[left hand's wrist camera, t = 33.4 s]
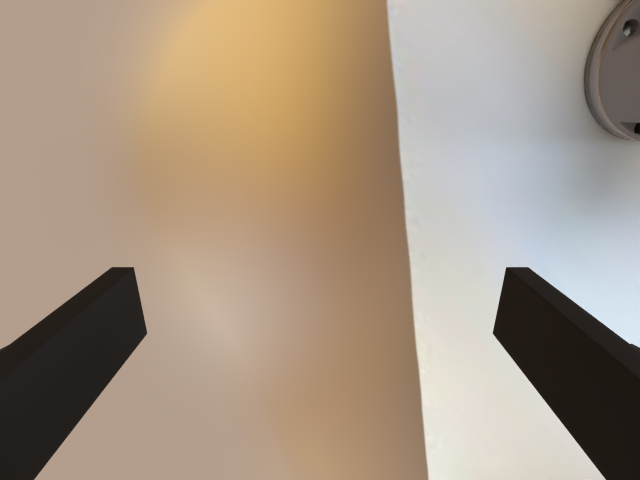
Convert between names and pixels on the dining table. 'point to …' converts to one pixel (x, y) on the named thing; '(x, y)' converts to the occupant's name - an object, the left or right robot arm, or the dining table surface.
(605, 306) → the dining table surface
